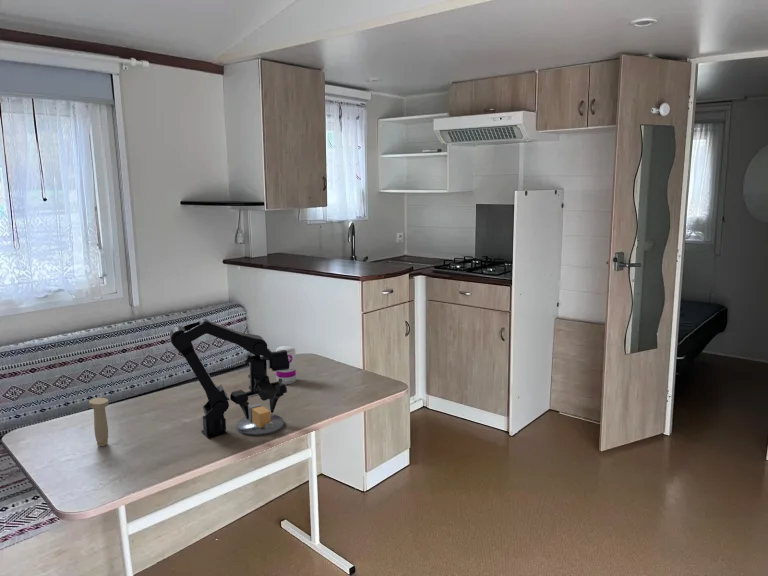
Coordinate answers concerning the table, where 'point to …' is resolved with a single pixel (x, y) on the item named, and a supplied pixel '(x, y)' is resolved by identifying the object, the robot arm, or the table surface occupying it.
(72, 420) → the table surface
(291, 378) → the supplement can
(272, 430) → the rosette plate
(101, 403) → the handle
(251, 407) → the tan and grey block
